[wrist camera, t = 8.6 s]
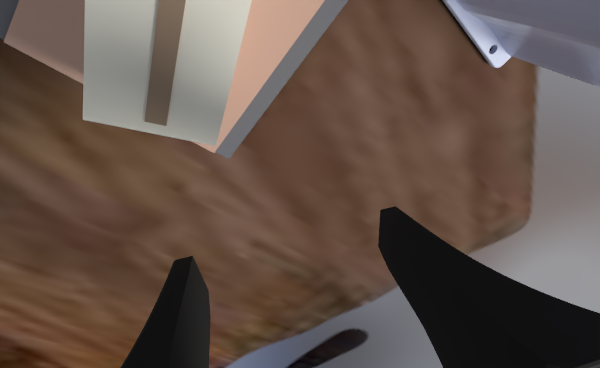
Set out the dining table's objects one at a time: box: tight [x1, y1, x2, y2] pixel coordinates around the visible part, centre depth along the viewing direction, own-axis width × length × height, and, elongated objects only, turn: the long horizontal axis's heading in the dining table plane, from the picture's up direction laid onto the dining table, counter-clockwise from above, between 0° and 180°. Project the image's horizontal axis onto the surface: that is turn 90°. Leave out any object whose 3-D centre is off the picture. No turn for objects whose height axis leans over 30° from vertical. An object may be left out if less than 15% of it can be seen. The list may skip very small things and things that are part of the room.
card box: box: [83, 0, 252, 146], centre depth 13 cm, size 8×5×4 cm, turn 160°
